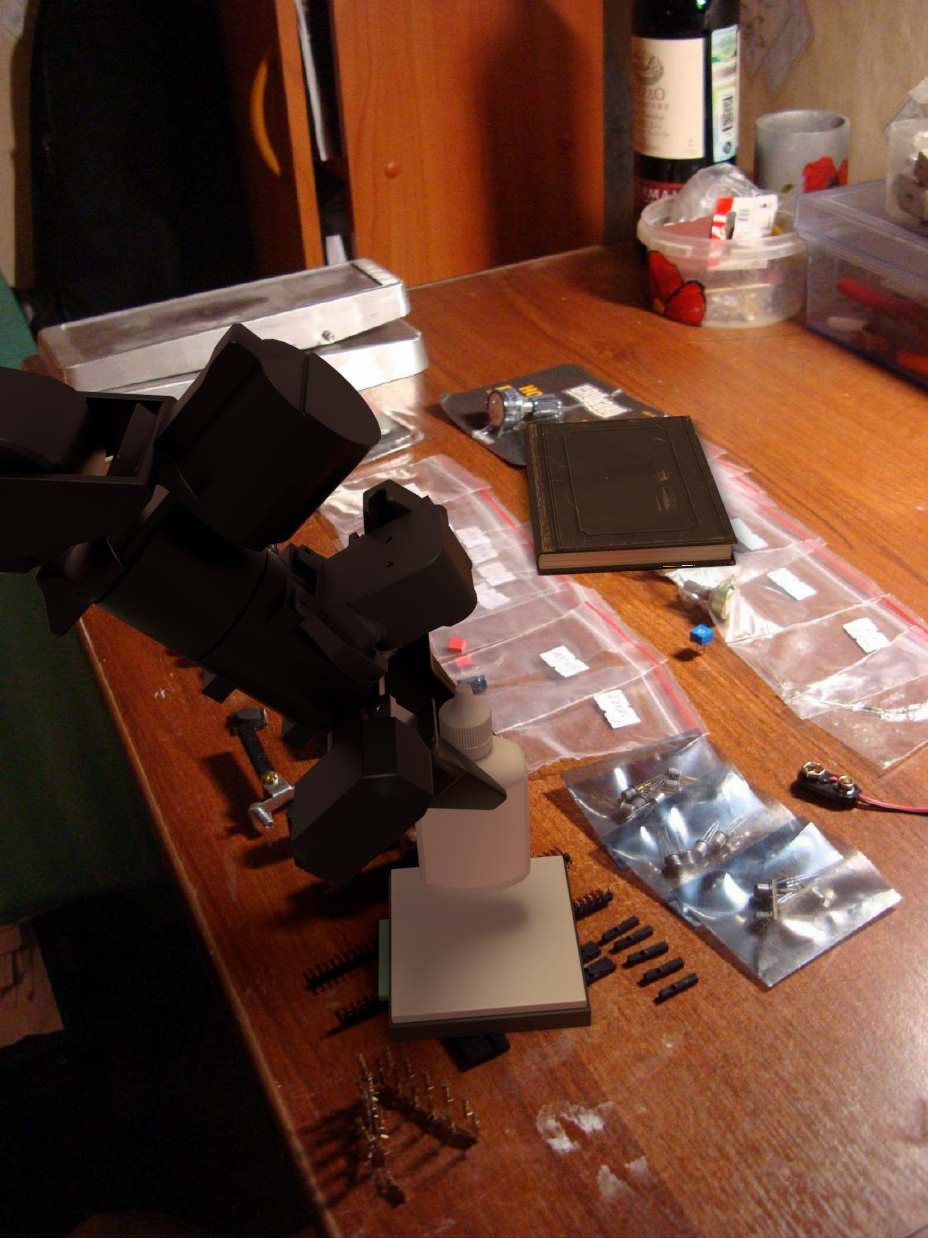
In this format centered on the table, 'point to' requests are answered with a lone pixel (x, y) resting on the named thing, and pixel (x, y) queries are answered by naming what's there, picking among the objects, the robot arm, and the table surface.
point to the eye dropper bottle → (477, 811)
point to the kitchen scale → (482, 958)
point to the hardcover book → (623, 496)
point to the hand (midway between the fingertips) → (497, 774)
